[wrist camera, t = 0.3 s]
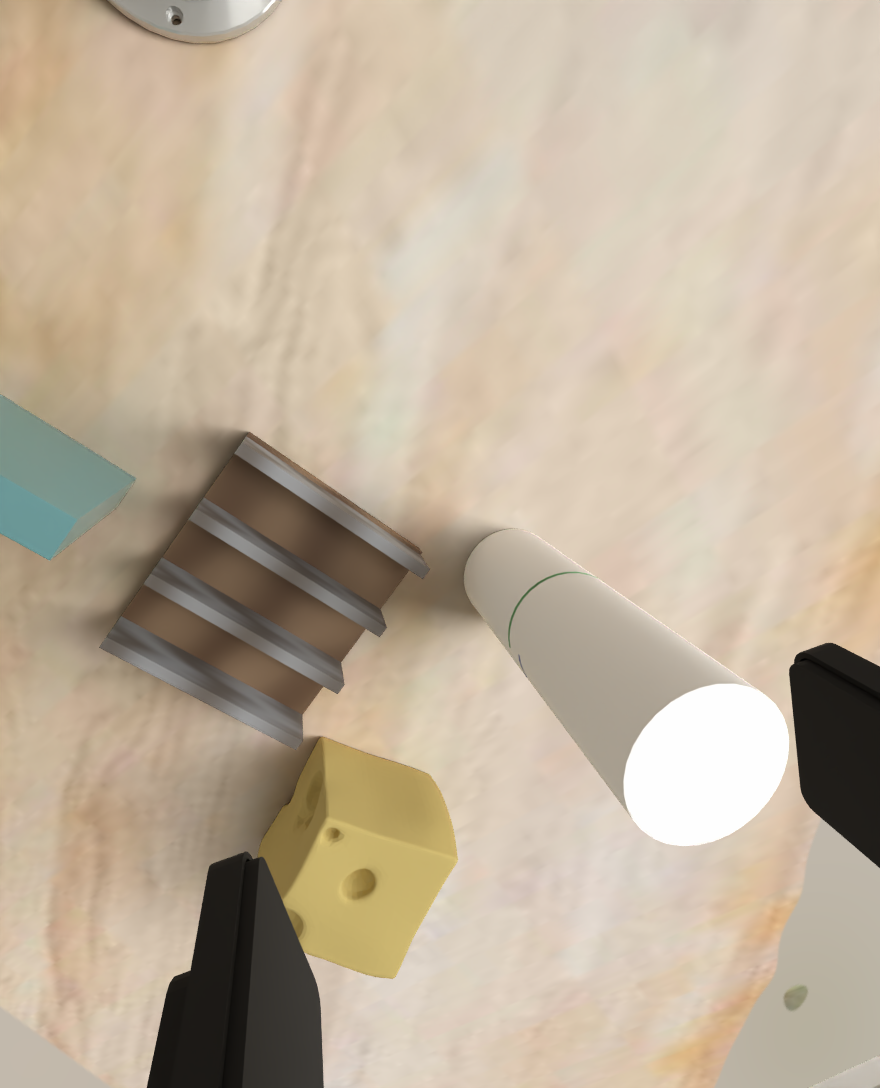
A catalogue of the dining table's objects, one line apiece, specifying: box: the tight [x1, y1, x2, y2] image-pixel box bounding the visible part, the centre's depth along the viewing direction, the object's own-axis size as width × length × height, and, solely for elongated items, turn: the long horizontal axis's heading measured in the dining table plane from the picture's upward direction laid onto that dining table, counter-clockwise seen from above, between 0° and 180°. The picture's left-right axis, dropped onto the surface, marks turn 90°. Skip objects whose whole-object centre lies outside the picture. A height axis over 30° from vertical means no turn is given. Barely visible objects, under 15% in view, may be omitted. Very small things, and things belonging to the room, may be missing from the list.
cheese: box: [258, 737, 458, 979], centre depth 47 cm, size 10×11×10 cm
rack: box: [99, 432, 430, 750], centre depth 43 cm, size 14×16×5 cm
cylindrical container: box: [464, 529, 789, 846], centre depth 37 cm, size 7×7×25 cm
